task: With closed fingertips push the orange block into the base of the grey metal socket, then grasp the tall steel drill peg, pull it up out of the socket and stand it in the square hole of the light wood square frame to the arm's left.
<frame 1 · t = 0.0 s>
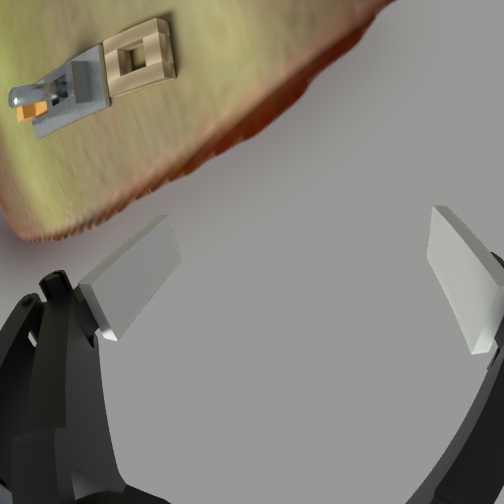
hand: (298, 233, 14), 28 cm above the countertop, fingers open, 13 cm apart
light wood square frame: (143, 58, 35), on the countertop
socket station: (68, 93, 40), on the countertop
orange block: (36, 106, 38), point 4 cm above the countertop, slide at 0.0 cm
drill peg: (74, 88, 38), point 1 cm above the countertop, touching socket station
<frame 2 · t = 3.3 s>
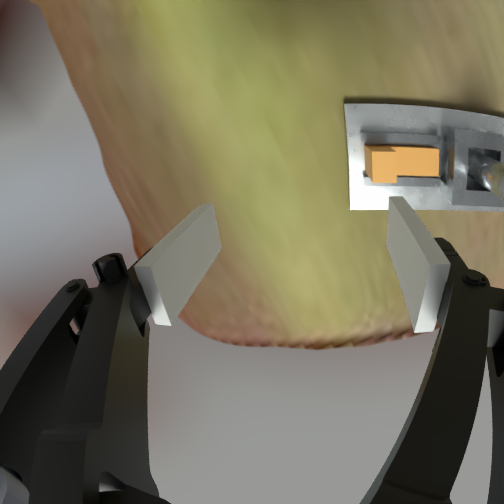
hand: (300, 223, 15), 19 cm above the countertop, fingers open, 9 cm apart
socket station: (444, 158, 27), on the countertop
orange block: (406, 162, 26), point 4 cm above the countertop, slide at 0.0 cm
drill peg: (468, 162, 25), point 1 cm above the countertop, touching socket station
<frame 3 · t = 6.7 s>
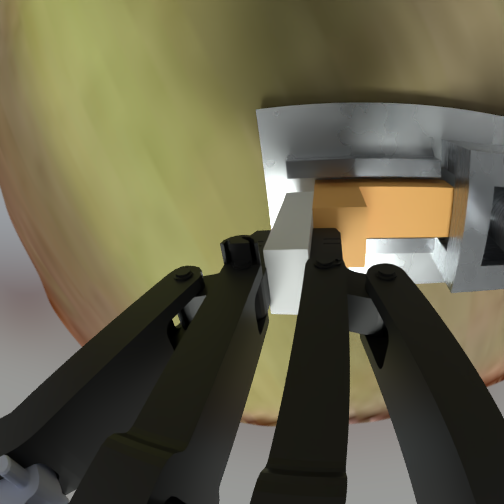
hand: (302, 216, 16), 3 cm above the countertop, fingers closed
socket station: (445, 196, 16), on the countertop
orange block: (391, 217, 14), point 4 cm above the countertop, slide at 1.2 cm, touching gripper
drill peg: (487, 204, 14), point 1 cm above the countertop, touching socket station
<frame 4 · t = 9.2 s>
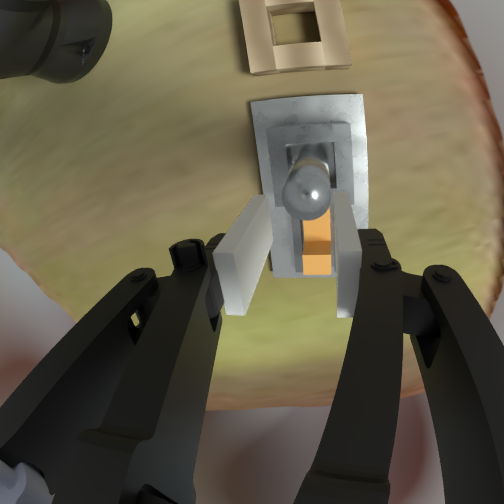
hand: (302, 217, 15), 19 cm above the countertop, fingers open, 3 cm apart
light wood square frame: (296, 31, 25), on the countertop
socket station: (315, 182, 33), on the countertop
orange block: (316, 230, 31), point 4 cm above the countertop, slide at 1.8 cm
drill peg: (312, 159, 30), point 1 cm above the countertop, touching socket station
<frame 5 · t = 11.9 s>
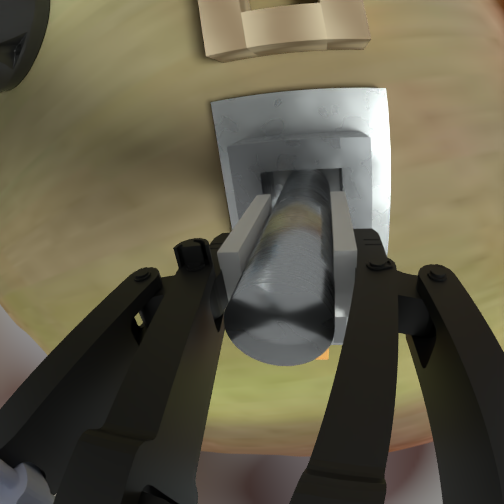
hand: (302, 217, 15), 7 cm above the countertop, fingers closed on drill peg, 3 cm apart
socket station: (310, 222, 22), on the countertop
orange block: (310, 296, 21), point 4 cm above the countertop, slide at 1.8 cm
drill peg: (307, 189, 20), point 1 cm above the countertop, touching gripper, socket station
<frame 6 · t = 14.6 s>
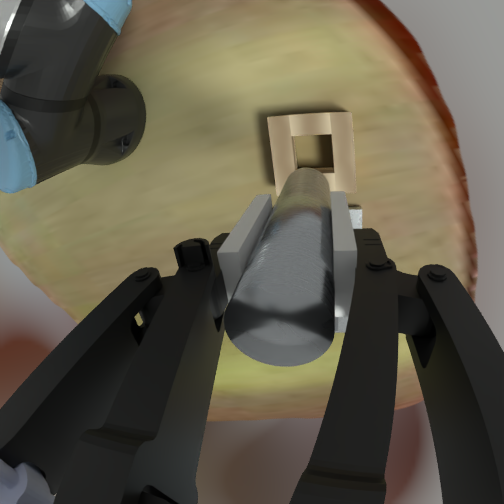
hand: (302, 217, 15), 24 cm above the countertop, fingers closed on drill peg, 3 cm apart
light wood square frame: (314, 150, 36), on the countertop
socket station: (320, 269, 44), on the countertop
drill peg: (307, 189, 20), point 19 cm above the countertop, touching gripper
when the fingers open (7 cm above the countertop, at t = 17.8 s): drill peg drops 2 cm, resting in light wood square frame.
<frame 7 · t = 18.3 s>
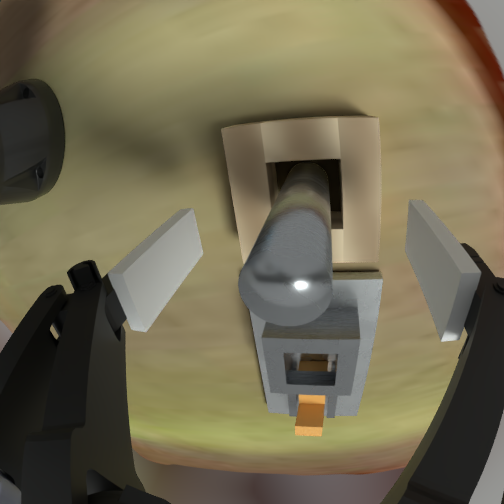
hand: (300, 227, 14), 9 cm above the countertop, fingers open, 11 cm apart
light wood square frame: (308, 182, 22), on the countertop
socket station: (314, 351, 30), on the countertop
orange block: (311, 401, 28), point 4 cm above the countertop, slide at 1.8 cm
drill peg: (307, 182, 22), resting in light wood square frame
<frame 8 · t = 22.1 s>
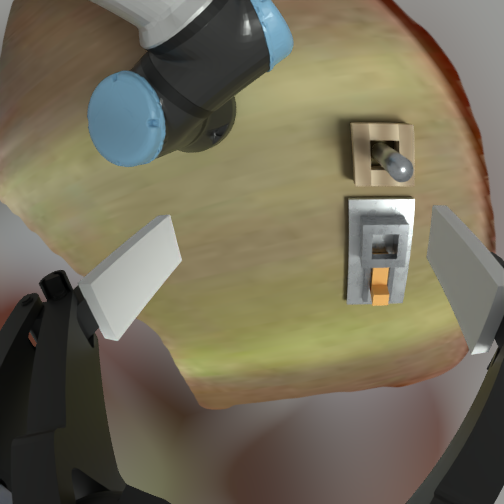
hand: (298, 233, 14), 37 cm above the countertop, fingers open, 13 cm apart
light wood square frame: (381, 151, 43), on the countertop
socket station: (379, 248, 51), on the countertop
orange block: (380, 279, 50), point 4 cm above the countertop, slide at 1.8 cm
drill peg: (380, 151, 43), resting in light wood square frame
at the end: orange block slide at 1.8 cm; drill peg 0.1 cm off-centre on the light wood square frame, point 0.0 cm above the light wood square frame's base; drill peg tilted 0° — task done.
